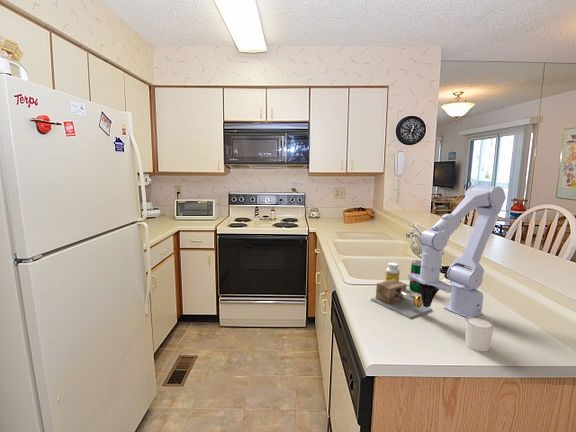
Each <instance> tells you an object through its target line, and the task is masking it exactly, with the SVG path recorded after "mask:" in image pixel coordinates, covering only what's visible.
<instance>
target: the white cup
mask: <svg viewBox="0 0 576 432" xmlns="http://www.w3.org/2000/svg"><path fill="white" fill-rule="evenodd" d="M494 329H495V326H494V324H493V323H492V322H490V321H489V320H487V319H484V318H482V317H481V318H480V317H470V318H467V317H465V336H464V337H465V340H464V341H465V346H466V345H467V346H468V348H469V349H470V348H471V350H473V351H475V350H477V351H476V352H479V351H483V353H484V351H486V352H488V351H489V350H490V349H489V348H490V345H491V341H492V338H493V334H494V333H493V332H494ZM467 346H466V347H467Z"/></svg>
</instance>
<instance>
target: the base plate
mask: <svg viewBox="0 0 576 432" xmlns="http://www.w3.org/2000/svg"><path fill="white" fill-rule="evenodd" d="M370 301H372V302H374V303H376V304H378V305H380V306H383V307H385V308H386V309H389V310H391V311H393V312H395V313H397V314H399V315H402V316H404V317H405V318H408V319H410V320H411V319H414V318H416V317H419V316H421V315H424V314H427V313H430V312H432V311H433V308H431V307H424V306H423V304H422V306H421V307H420V308H418V307H416V306H414V303H412V302H410V301H407V300H403V301H399V302H396V303H393V304H390V305H388V304H386V303H384V302H381V301H379V300H377V299H376V296H375V297H372V298H370Z"/></svg>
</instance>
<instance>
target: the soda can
mask: <svg viewBox="0 0 576 432" xmlns="http://www.w3.org/2000/svg"><path fill="white" fill-rule="evenodd" d="M420 272H421V260H419V259H414V260H412V262H411V264H410V273H414V274H418V275H420ZM419 284H420V282H417V281H414V280H409V290H410V291H412V292H415V293H420V291H419V289H418V287H417V286H418V285H419Z"/></svg>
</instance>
